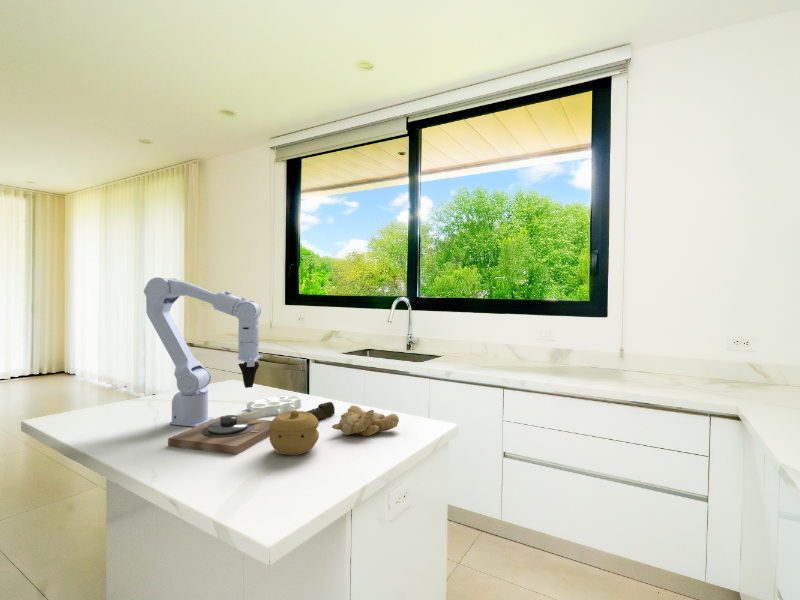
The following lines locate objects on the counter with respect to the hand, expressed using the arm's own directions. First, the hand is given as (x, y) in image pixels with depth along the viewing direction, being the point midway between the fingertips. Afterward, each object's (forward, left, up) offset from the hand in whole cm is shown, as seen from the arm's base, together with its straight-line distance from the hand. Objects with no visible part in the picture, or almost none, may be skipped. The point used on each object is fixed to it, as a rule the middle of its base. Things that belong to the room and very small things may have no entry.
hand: (248, 387), depth 125 cm
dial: (+4, -11, -8) cm, 14 cm away
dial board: (+3, -13, -10) cm, 17 cm away
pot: (+25, -17, -11) cm, 32 cm away
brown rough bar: (+18, +6, -11) cm, 21 cm away
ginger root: (+36, +1, -11) cm, 38 cm away
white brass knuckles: (0, +14, -11) cm, 18 cm away
